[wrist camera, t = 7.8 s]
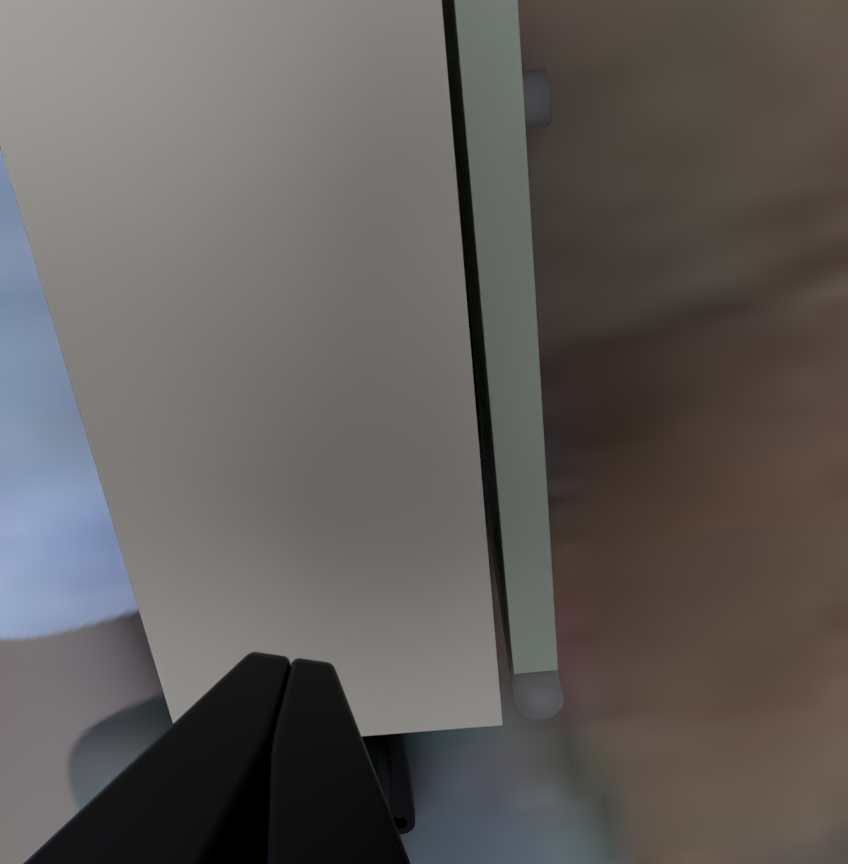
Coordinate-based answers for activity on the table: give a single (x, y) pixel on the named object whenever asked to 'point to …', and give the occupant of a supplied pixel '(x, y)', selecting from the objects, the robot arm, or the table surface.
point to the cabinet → (267, 332)
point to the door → (506, 325)
